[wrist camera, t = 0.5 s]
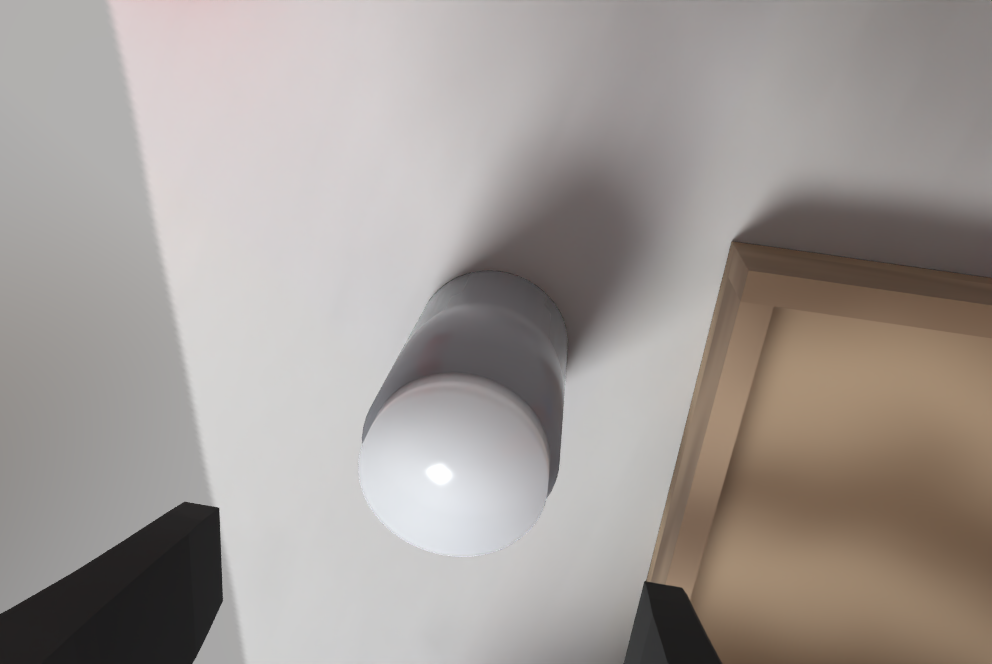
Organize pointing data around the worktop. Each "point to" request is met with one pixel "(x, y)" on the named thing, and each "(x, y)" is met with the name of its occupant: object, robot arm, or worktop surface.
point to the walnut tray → (838, 465)
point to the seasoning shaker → (469, 418)
